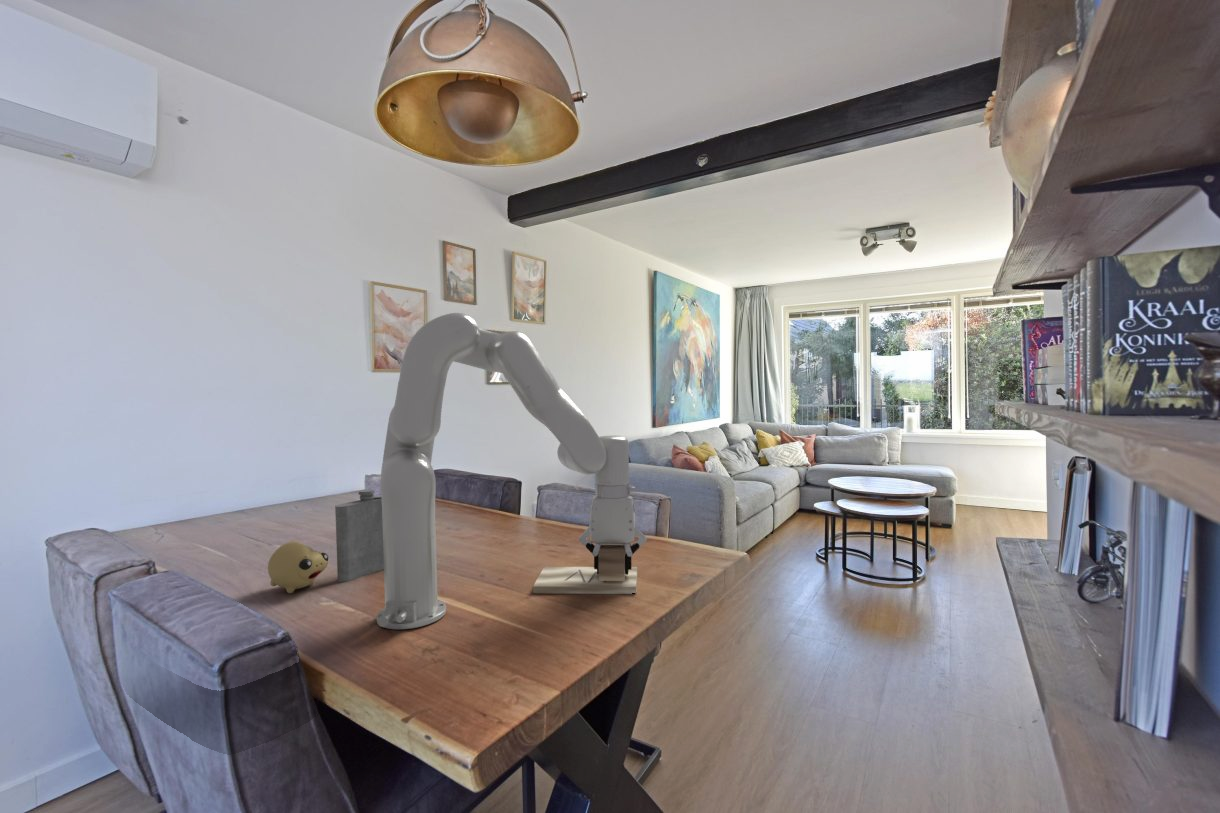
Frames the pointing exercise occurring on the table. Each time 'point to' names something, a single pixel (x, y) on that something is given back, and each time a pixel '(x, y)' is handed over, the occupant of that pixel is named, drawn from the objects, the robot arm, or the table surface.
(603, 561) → the block
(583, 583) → the birch board
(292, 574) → the yellow round soft figure
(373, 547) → the hip flask
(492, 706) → the table surface
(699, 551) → the table surface
